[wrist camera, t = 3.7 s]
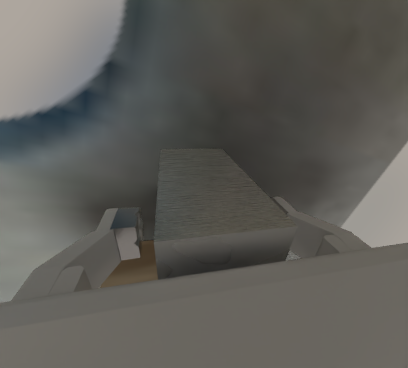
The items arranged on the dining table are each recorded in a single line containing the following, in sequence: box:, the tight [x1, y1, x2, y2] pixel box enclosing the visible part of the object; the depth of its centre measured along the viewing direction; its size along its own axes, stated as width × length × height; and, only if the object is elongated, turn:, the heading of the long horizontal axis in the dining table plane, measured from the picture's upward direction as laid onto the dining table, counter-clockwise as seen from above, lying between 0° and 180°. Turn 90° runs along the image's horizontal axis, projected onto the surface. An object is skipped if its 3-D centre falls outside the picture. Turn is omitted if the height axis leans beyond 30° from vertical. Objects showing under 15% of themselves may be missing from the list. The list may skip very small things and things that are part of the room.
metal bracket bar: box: [154, 148, 298, 280], centre depth 9 cm, size 5×4×8 cm
